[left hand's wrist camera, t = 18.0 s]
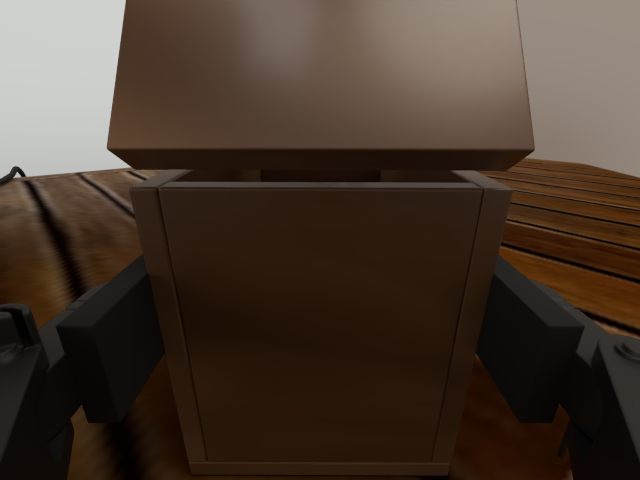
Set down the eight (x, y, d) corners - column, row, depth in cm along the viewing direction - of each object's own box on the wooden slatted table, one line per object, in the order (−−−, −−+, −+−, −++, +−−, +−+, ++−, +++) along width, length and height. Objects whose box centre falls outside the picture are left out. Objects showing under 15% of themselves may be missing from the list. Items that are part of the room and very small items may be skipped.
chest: (259, 274, 26) (249, 131, 22) (380, 274, 26) (391, 131, 22) (190, 475, 12) (127, 187, 8) (448, 476, 12) (514, 188, 8)
